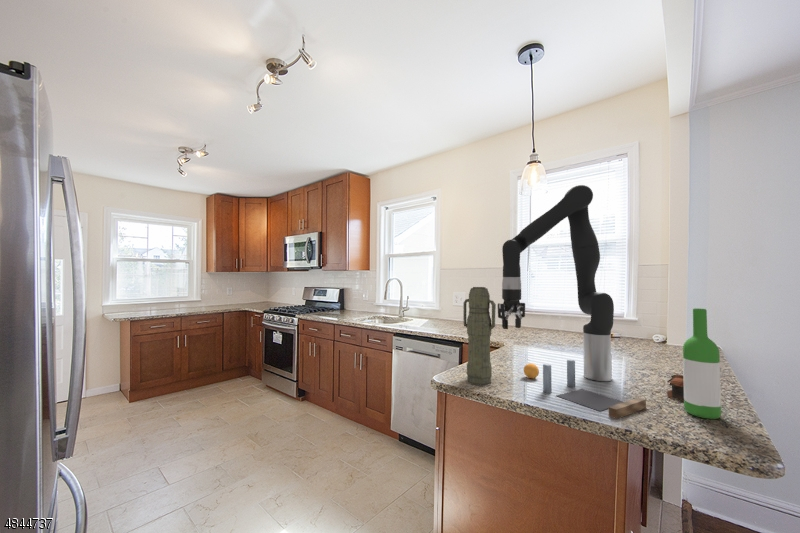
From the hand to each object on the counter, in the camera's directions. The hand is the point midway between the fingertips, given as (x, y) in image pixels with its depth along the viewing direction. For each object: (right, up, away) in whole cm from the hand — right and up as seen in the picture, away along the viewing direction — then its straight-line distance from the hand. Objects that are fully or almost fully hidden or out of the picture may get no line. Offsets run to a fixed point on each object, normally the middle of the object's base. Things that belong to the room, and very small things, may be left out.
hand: (511, 328), depth 135 cm
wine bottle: (+40, -17, -42) cm, 60 cm away
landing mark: (+14, -17, -31) cm, 38 cm away
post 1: (+4, -17, -24) cm, 30 cm away
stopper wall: (+20, -16, -40) cm, 48 cm away
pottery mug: (+46, -17, -30) cm, 58 cm away
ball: (+5, -15, -9) cm, 18 cm away
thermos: (-17, -17, -14) cm, 28 cm away
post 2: (+15, -17, -18) cm, 29 cm away
